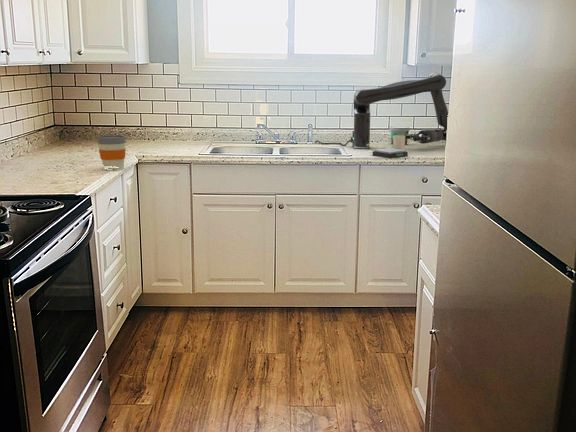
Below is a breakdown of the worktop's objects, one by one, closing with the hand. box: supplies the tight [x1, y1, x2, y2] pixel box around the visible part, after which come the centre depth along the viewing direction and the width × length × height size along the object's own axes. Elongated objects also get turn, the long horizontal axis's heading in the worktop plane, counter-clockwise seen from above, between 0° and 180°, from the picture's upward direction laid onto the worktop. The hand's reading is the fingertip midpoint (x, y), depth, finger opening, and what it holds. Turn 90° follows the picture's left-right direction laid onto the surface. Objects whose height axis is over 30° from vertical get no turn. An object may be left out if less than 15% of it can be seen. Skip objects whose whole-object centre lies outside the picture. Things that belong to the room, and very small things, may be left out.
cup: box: [392, 135, 406, 150], centre depth 336 cm, size 6×6×9 cm
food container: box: [389, 126, 411, 145], centre depth 369 cm, size 12×6×10 cm, turn 62°
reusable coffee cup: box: [97, 134, 127, 171], centre depth 287 cm, size 13×12×15 cm
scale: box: [371, 147, 409, 159], centre depth 324 cm, size 13×13×3 cm
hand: (408, 138), depth 340 cm, fingers open, 8 cm apart
